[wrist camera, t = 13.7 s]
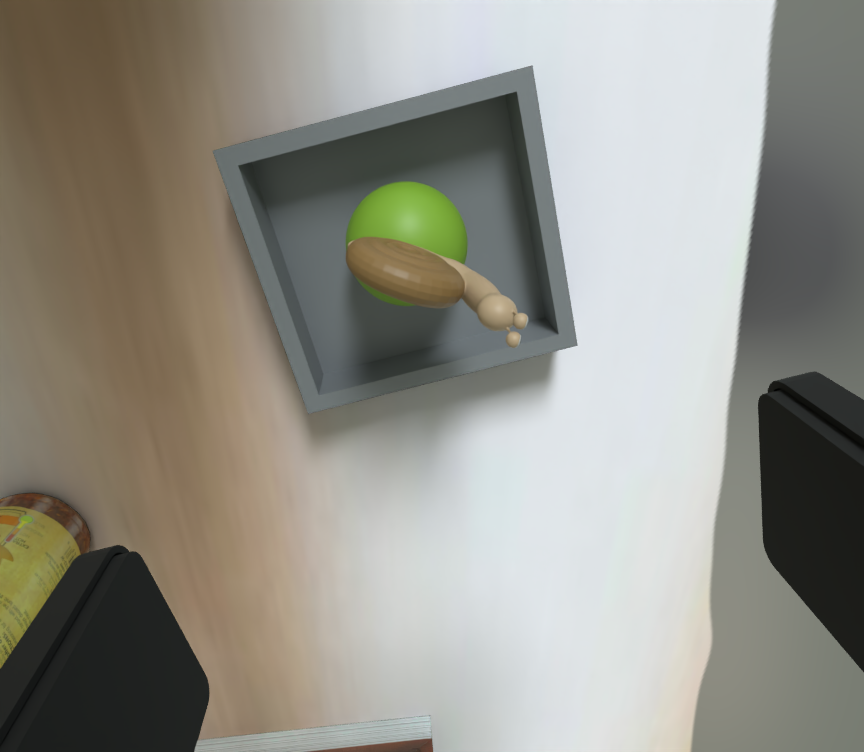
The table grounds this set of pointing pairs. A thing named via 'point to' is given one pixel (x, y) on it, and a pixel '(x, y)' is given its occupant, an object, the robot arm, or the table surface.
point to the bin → (371, 169)
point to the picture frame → (333, 738)
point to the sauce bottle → (33, 558)
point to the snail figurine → (422, 256)
